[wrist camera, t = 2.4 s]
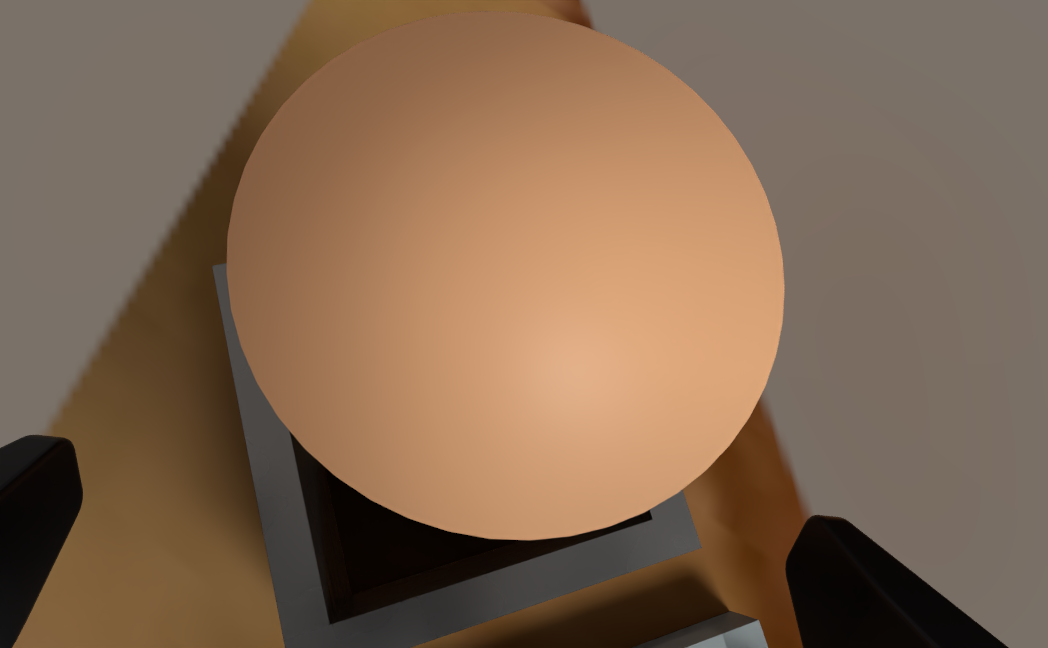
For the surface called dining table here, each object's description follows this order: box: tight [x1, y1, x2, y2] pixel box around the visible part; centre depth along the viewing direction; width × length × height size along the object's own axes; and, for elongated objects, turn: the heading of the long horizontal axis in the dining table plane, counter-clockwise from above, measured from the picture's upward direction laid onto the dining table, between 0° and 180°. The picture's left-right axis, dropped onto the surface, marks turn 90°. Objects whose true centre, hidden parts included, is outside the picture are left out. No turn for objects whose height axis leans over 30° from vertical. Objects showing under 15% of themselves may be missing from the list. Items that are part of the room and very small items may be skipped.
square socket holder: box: [212, 263, 702, 648], centre depth 15 cm, size 8×8×4 cm
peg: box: [226, 11, 784, 540], centre depth 11 cm, size 4×4×13 cm
